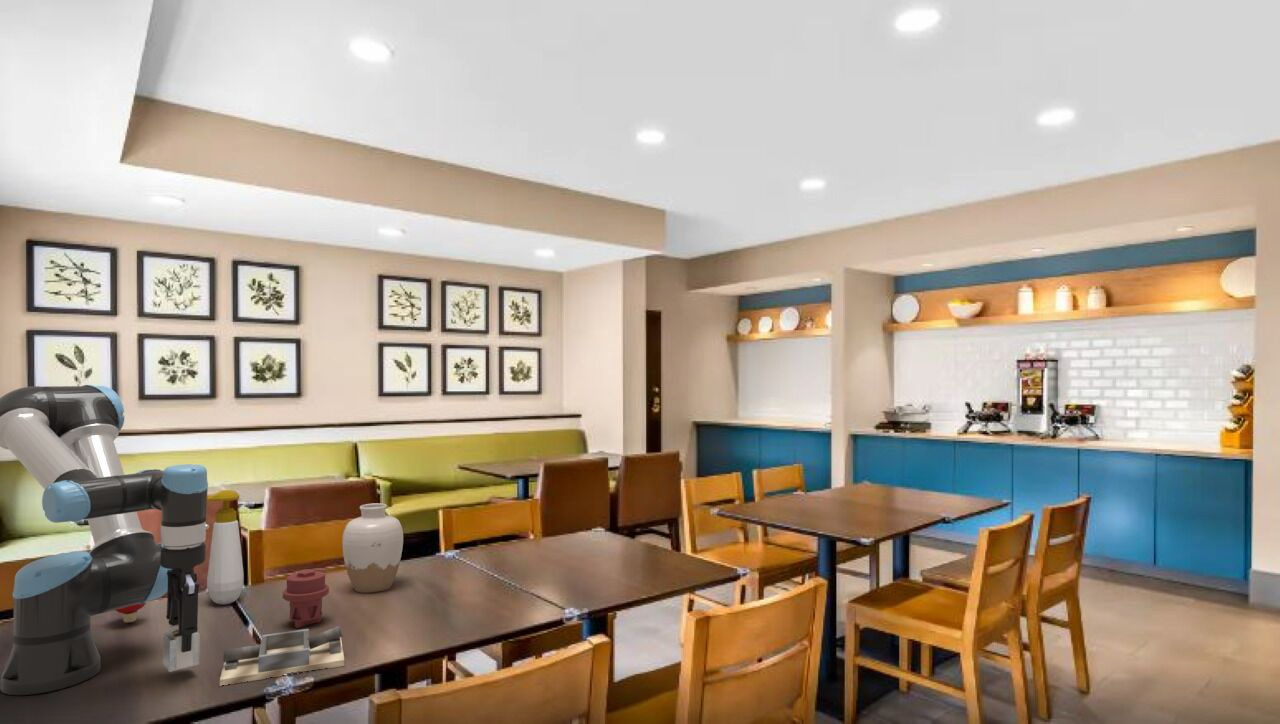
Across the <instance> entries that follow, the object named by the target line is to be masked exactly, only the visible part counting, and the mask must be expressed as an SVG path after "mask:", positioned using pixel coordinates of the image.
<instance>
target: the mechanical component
mask: <svg viewBox="0 0 1280 724" xmlns="http://www.w3.org/2000/svg"><path fill="white" fill-rule="evenodd" d="M329 592H330V586H329V585H328V584H326V573H325V572H323V571H319V570H315V569H314V568H313V569H312V568H308V569H307V568H306V569H301V570H298V571H297V572H295V573H293V574H290V575H288V576H287V577H286V588H285V589H284V590H283V591H282V599H283V600H285V601H286V602H289V620H290V621H291V622H292V621H293V622H294V627H295V628H297V629H298V628H302V627H305V626H308V625H312V624H317V623H321V621H322V615H323V612H322V610H323V609H322V607H323V598H324V597H326V596H327V595H328V594H329Z"/></svg>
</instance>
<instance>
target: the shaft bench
mask: <svg viewBox="0 0 1280 724" xmlns="http://www.w3.org/2000/svg"><path fill="white" fill-rule="evenodd" d="M342 637H344V636H343V631H342V629H341V625H338V626H335V627H331V628H329V629H327V630H325V631H321V632H318V633H317V634H314V635H312V636H310V629H309V628H303V629H298V630H297V629H296V630H291V631H290V630H289V631H282V632H275V633H269V634H262V635H261V640H260V644H254V645H248V646H240V647H234V648H228V649H223V658H222V659H223V666H222V669H221V673H220V676H219V677H220V678H219V687H221V686H222V685H224V686H228V684H230V685H236V684H241V682H242V683H247V681H248V682H253V681H254V682H255V681H258V680H259V681H260V680H266V678H267V679H271V678H270V677H273V678H279V677H283V676H282V675H284V674H287V673H291V672H297V671H307V670H316V669H317V670H316V671H319V670H318V669H322V670H326V669H325V668H328V669H333V668H340V667H344V666H345V655H344V650H343V647H344V646H343V643H342ZM235 683H236V684H235ZM222 687H223V686H222Z"/></svg>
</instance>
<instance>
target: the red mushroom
mask: <svg viewBox="0 0 1280 724" xmlns="http://www.w3.org/2000/svg"><path fill="white" fill-rule="evenodd" d="M146 604H147V602H145V603H144V604H137V605H133V606H129V607H125V608H121V609H117V610H115V611H116V612H117V613H119V614H122V615H123V618H122V621H123V622H124V623H126V624H129V625H130V624H133V623H134V622H135V621H136V620H137V619H138V610H141V609H143V607H144V606H145V605H146Z"/></svg>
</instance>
